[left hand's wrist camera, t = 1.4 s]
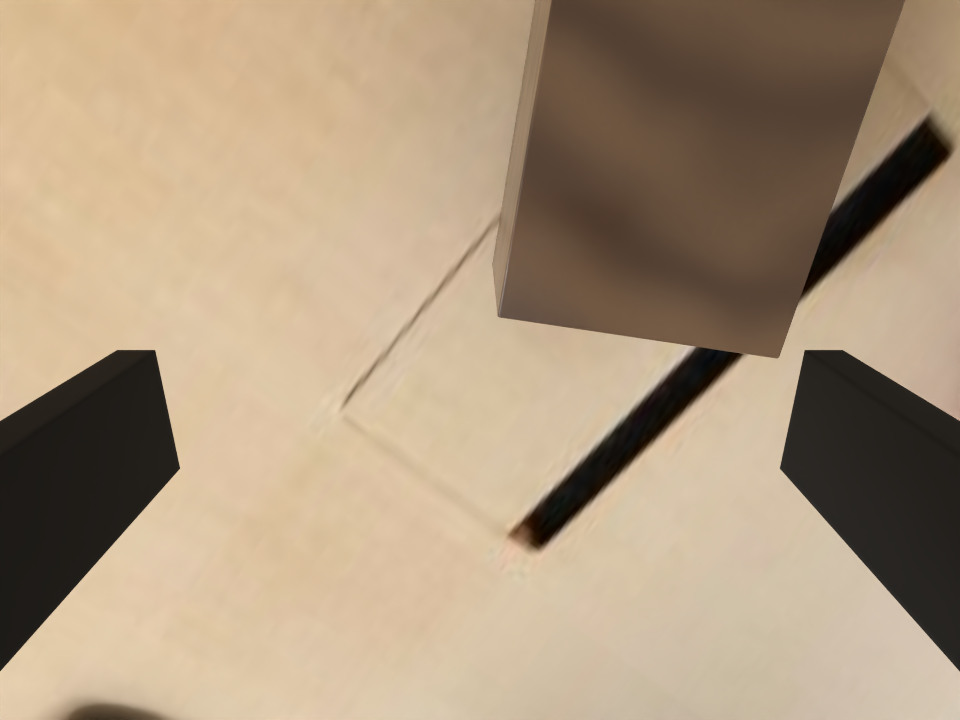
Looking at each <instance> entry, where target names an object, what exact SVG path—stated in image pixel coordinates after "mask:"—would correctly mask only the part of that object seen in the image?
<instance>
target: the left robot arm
mask: <svg viewBox="0 0 960 720" xmlns="http://www.w3.org/2000/svg"><path fill="white" fill-rule="evenodd" d="M179 469H180V466H179V461H178V457H177V452H176V447H175V442H174V438H173V433H172V428H171V423H170V419H169V414H168V409H167V404H166V400H165V395H164V390H163V385H162V380H161V376H160V371H159V366H158V361H157V357H156V352H155V350H117V351H115V352H113V353H112V354H110V355H108V356H107V357H105V358H104V359H102V360H100V361H99V362H97V363H95V364H94V365H92V366H90V367H89V368H87V369H85V370H84V371H82V372H80V373H79V374H77V375H76V376H74V377H72V378H71V379H69V380H67V381H66V382H64V383H62V384H61V385H59V386H57V387H56V388H54V389H52V390H51V391H49V392H47V393H46V394H44V395H43V396H41V397H39V398H38V399H36V400H34V401H33V402H31V403H29V404H28V405H26V406H24V407H23V408H21V409H19V410H18V411H16V412H15V413H13V414H11V415H10V416H8V417H6V418H5V419H3V420H1V421H0V671H1V670H2V669H3V668H4V666H5V665H6V664H7V663H8V662H9V661H10V660H11V659H12V657H13V656H14V655H15V654H16V653H17V652H18V651H19V650H20V648H21V647H22V646H23V645H24V644H25V643H26V642H27V640H28V639H29V638H30V637H31V636H32V635H33V634H34V633H35V631H36V630H37V629H38V628H39V627H40V626H41V625H42V624H43V622H44V621H45V620H46V619H47V618H48V617H49V616H50V615H51V613H52V612H53V611H54V610H55V609H56V608H57V607H58V606H59V604H60V603H61V602H62V601H63V600H64V599H65V598H66V596H67V595H68V594H69V593H70V592H71V591H72V590H73V589H74V587H75V586H76V585H77V584H78V583H79V582H80V581H81V580H82V578H83V577H84V576H85V575H86V574H87V573H88V572H89V571H90V569H91V568H92V567H93V566H94V565H95V564H96V563H97V562H98V560H99V559H100V558H101V557H102V556H103V555H104V554H105V553H106V551H107V550H108V549H109V548H110V547H111V546H112V545H113V543H114V542H115V541H116V540H117V539H118V538H119V537H120V536H121V534H122V533H123V532H124V531H125V530H126V529H127V528H128V527H129V525H130V524H131V523H132V522H133V521H134V520H135V519H136V518H137V516H138V515H139V514H140V513H141V512H142V511H143V510H144V509H145V507H146V506H147V505H148V504H149V503H150V502H151V501H152V500H153V498H154V497H155V496H156V495H157V494H158V493H159V492H160V490H161V489H162V488H163V487H164V486H165V485H166V484H167V483H168V481H169V480H170V479H171V478H172V477H173V476H174V475H175V474H176V472H177V471H178V470H179ZM780 469H781V470H782V471H783V472H784V474H785V475H786V476H787V477H788V478H789V479H790V480H791V481H792V483H793V484H794V485H795V486H796V487H797V488H798V489H799V490H800V492H801V493H802V494H803V495H804V496H805V497H806V498H807V500H808V501H809V502H810V503H811V504H812V505H813V506H814V507H815V509H816V510H817V511H818V512H819V513H820V514H821V515H822V516H823V518H824V519H825V520H826V521H827V522H828V523H829V524H830V525H831V527H832V528H833V529H834V530H835V531H836V532H837V533H838V534H839V536H840V537H841V538H842V539H843V540H844V541H845V542H846V543H847V545H848V546H849V547H850V548H851V549H852V550H853V551H854V553H855V554H856V555H857V556H858V557H859V558H860V559H861V560H862V562H863V563H864V564H865V565H866V566H867V567H868V568H869V569H870V571H871V572H872V573H873V574H874V575H875V576H876V577H877V578H878V580H879V581H880V582H881V583H882V584H883V585H884V586H885V587H886V589H887V590H888V591H889V592H890V593H891V594H892V595H893V596H894V598H895V599H896V600H897V601H898V602H899V603H900V604H901V606H902V607H903V608H904V609H905V610H906V611H907V612H908V613H909V615H910V616H911V617H912V618H913V619H914V620H915V621H916V622H917V624H918V625H919V626H920V627H921V628H922V629H923V630H924V631H925V633H926V634H927V635H928V636H929V637H930V638H931V639H932V640H933V642H934V643H935V644H936V645H937V646H938V647H939V648H940V650H941V651H942V652H943V653H944V654H945V655H946V656H947V657H948V659H949V660H950V661H951V662H952V663H953V664H954V665H955V666H956V668H957V669H958V670H959V671H960V421H959V420H957V419H955V418H954V417H952V416H950V415H949V414H947V413H945V412H944V411H942V410H941V409H939V408H937V407H936V406H934V405H932V404H931V403H929V402H927V401H926V400H924V399H922V398H921V397H919V396H917V395H916V394H914V393H913V392H911V391H909V390H908V389H906V388H904V387H903V386H901V385H899V384H898V383H896V382H894V381H893V380H891V379H889V378H888V377H886V376H884V375H883V374H881V373H880V372H878V371H876V370H875V369H873V368H871V367H870V366H868V365H866V364H865V363H863V362H861V361H860V360H858V359H856V358H855V357H853V356H852V355H850V354H848V353H847V352H845V351H843V350H805V352H804V357H803V361H802V366H801V371H800V376H799V380H798V385H797V390H796V395H795V400H794V404H793V409H792V414H791V419H790V423H789V428H788V433H787V438H786V442H785V447H784V452H783V457H782V461H781V466H780Z"/></svg>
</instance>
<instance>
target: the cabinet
mask: <svg viewBox="0 0 960 720" xmlns="http://www.w3.org/2000/svg"><path fill="white" fill-rule="evenodd" d="M904 2H905V0H535V7H534V13H533V19H532V25H531V31H530V37H529V43H528V50H527V56H526V62H525V68H524V74H523V80H522V86H521V93H520V99H519V105H518V111H517V117H516V123H515V129H514V136H513V142H512V148H511V154H510V160H509V166H508V173H507V179H506V185H505V191H504V197H503V203H502V209H501V216H500V222H499V228H498V234H497V240H496V246H495V252H494V259H493V273H494V283H495V293H496V303H497V314H498V317H501V318H508V319H515V320H521V321H528V322H535V323H542V324H548V325H555V326H562V327H569V328H575V329H582V330H589V331H596V332H602V333H609V334H616V335H623V336H629V337H636V338H643V339H649V340H656V341H663V342H670V343H676V344H683V345H690V346H697V347H703V348H710V349H717V350H724V351H730V352H737V353H744V354H751V355H757V356H764V357H771V358H779V356H780V353H781V350H782V347H783V344H784V341H785V339H786V336H787V333H788V330H789V327H790V324H791V322H792V319H793V316H794V313H795V310H796V307H797V305H798V302H799V299H800V296H801V293H802V290H803V288H804V285H805V282H806V279H807V276H808V273H809V271H810V268H811V265H812V262H813V259H814V256H815V254H816V251H817V248H818V245H819V242H820V239H821V237H822V234H823V231H824V228H825V225H826V222H827V220H828V217H829V214H830V211H831V208H832V205H833V203H834V200H835V197H836V194H837V191H838V188H839V186H840V183H841V180H842V177H843V174H844V171H845V169H846V166H847V163H848V160H849V157H850V154H851V152H852V149H853V146H854V143H855V140H856V138H857V135H858V132H859V129H860V126H861V123H862V121H863V118H864V115H865V112H866V109H867V106H868V104H869V101H870V98H871V95H872V92H873V89H874V87H875V84H876V81H877V78H878V75H879V72H880V70H881V67H882V64H883V61H884V58H885V55H886V53H887V50H888V47H889V44H890V41H891V38H892V36H893V33H894V30H895V27H896V24H897V21H898V19H899V16H900V13H901V10H902V7H903V4H904Z"/></svg>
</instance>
